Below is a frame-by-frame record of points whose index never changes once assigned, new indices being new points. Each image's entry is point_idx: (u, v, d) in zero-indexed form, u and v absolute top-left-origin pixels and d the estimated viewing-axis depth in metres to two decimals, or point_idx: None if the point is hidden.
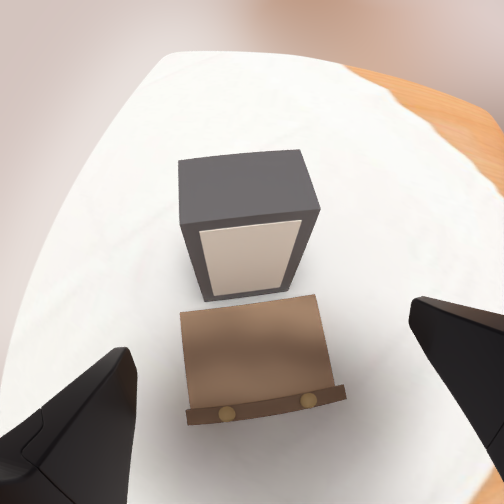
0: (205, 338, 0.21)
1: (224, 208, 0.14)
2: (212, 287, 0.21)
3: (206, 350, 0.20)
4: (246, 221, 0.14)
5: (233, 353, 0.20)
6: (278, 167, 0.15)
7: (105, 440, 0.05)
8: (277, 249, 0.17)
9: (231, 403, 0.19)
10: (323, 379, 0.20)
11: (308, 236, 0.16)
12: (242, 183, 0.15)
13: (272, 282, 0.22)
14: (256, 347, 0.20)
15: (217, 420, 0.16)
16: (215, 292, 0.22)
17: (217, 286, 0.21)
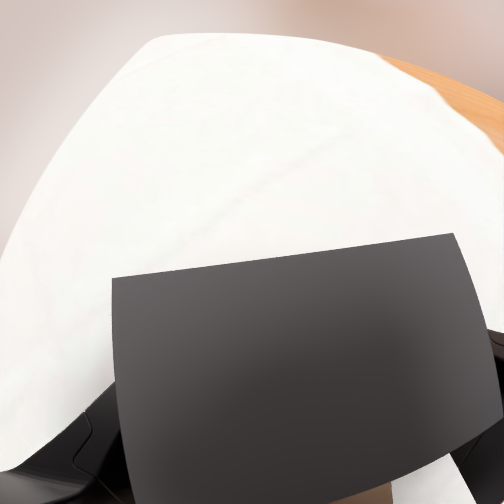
0: None
1: (275, 483, 0.03)
2: None
3: None
4: (338, 491, 0.04)
5: None
6: (421, 303, 0.05)
7: None
8: None
9: None
10: None
11: None
12: (329, 382, 0.04)
13: None
14: None
15: None
16: None
17: None
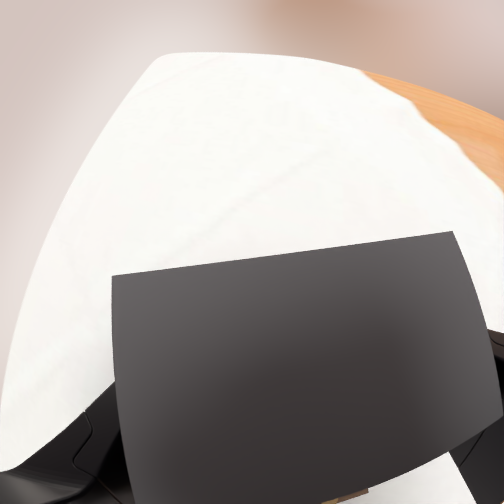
0: None
1: (275, 481, 0.03)
2: None
3: None
4: (337, 489, 0.04)
5: None
6: (421, 301, 0.05)
7: None
8: None
9: None
10: None
11: None
12: (328, 380, 0.04)
13: None
14: None
15: None
16: None
17: None
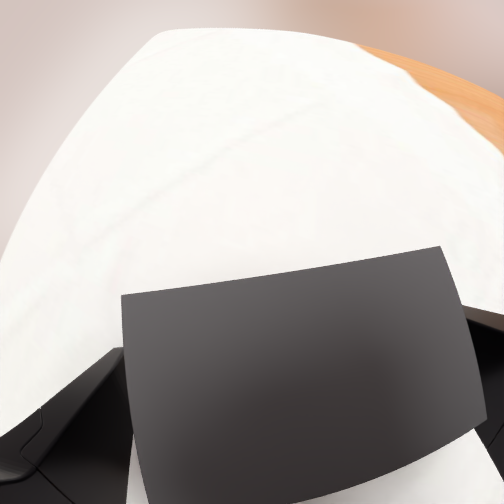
0: None
1: (273, 478, 0.04)
2: None
3: None
4: (330, 486, 0.04)
5: None
6: (407, 314, 0.05)
7: (104, 440, 0.05)
8: None
9: None
10: None
11: None
12: (320, 388, 0.04)
13: None
14: None
15: None
16: None
17: None
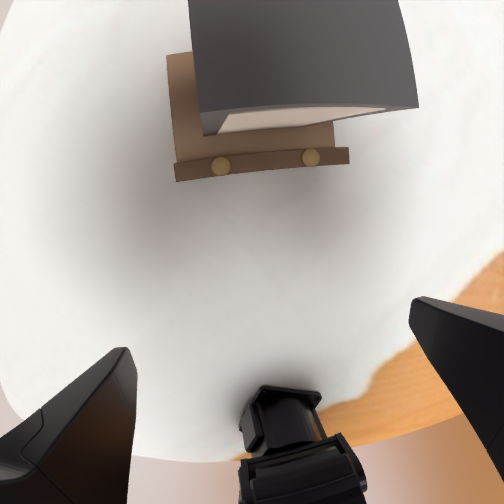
0: (195, 81, 0.16)
1: (279, 84, 0.07)
2: (219, 131, 0.15)
3: None
4: (312, 105, 0.08)
5: None
6: (366, 20, 0.06)
7: (105, 440, 0.05)
8: (328, 116, 0.11)
9: (222, 154, 0.18)
10: (324, 137, 0.18)
11: None
12: (309, 38, 0.07)
13: (296, 125, 0.15)
14: None
15: (209, 174, 0.16)
16: (221, 132, 0.16)
17: (226, 130, 0.15)
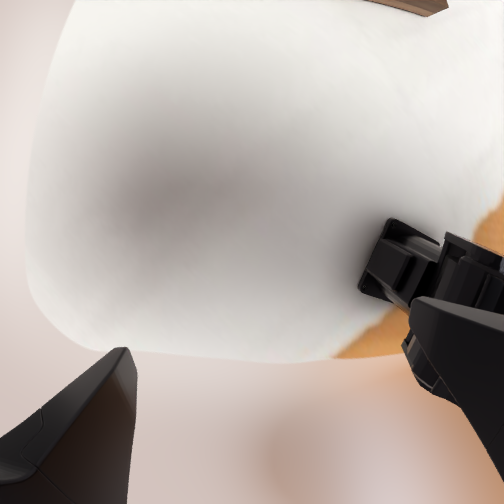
0: None
1: None
2: None
3: None
4: None
5: None
6: None
7: (105, 440, 0.05)
8: None
9: None
10: None
11: None
12: None
13: None
14: None
15: None
16: None
17: None
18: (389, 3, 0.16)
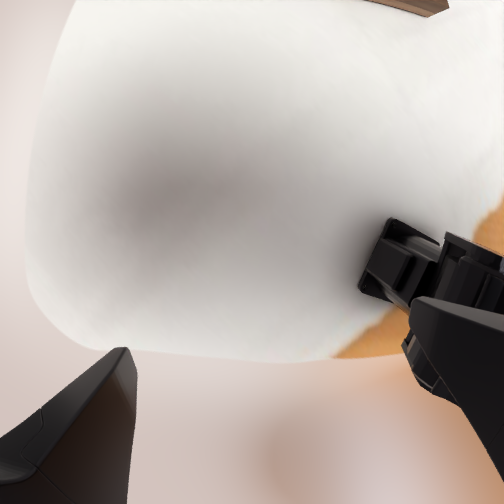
0: None
1: None
2: None
3: None
4: None
5: None
6: None
7: (105, 440, 0.05)
8: None
9: None
10: None
11: None
12: None
13: None
14: None
15: None
16: None
17: None
18: (390, 3, 0.16)
